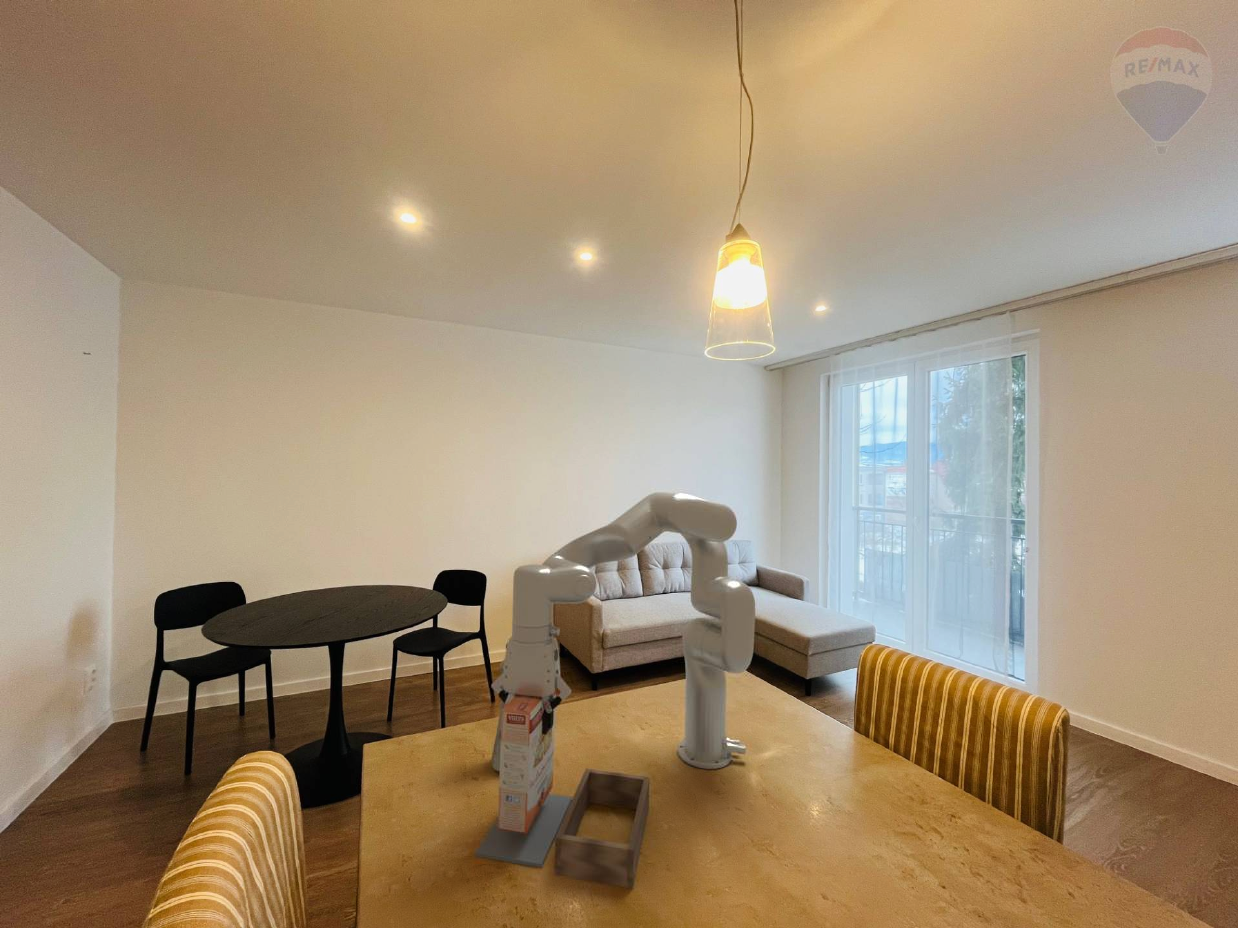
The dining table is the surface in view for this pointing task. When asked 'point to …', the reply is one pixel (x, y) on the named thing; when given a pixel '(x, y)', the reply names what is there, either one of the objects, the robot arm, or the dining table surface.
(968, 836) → the dining table surface
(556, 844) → the walnut crate
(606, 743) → the dining table surface
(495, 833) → the slate mat
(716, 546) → the robot arm
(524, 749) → the cracker box
